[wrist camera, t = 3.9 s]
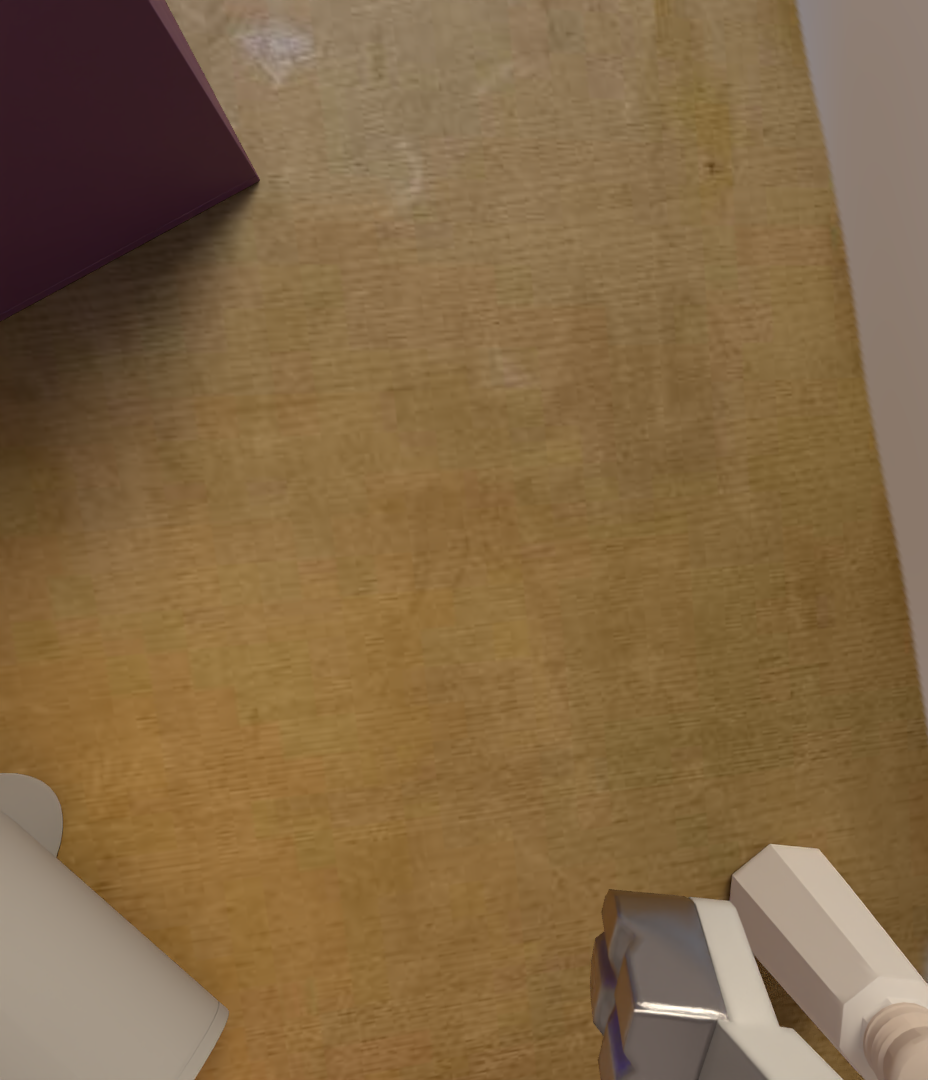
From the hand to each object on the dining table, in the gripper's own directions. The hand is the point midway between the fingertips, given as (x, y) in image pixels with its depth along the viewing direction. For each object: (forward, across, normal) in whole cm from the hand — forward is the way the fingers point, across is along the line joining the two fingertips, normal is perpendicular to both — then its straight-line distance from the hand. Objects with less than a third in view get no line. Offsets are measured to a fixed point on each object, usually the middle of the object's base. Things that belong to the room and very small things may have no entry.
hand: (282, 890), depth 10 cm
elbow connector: (+16, +16, +23) cm, 32 cm away
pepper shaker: (+18, -17, +17) cm, 30 cm away
